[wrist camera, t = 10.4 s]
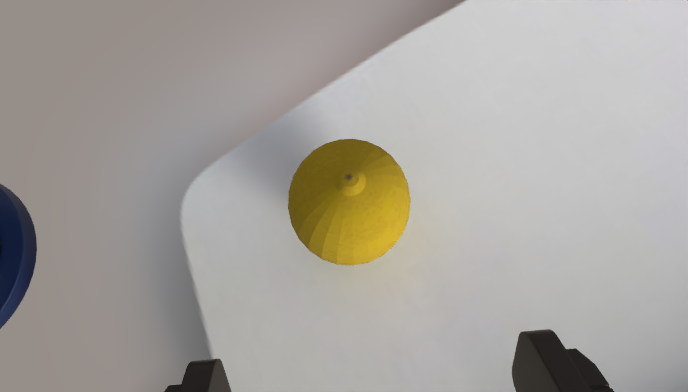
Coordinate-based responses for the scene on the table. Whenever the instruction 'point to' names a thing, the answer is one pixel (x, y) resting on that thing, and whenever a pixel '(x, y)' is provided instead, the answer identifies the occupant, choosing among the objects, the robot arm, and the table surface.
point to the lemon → (349, 202)
